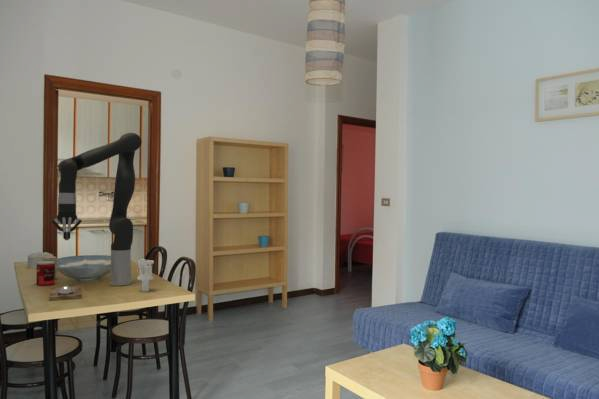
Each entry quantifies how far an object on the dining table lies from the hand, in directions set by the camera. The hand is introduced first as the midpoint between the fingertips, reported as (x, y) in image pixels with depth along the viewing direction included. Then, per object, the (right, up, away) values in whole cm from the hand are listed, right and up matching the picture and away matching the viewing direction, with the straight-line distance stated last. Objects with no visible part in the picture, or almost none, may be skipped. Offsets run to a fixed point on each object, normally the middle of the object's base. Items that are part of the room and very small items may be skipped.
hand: (66, 240), depth 213 cm
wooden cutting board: (+5, -23, -11) cm, 26 cm away
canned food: (-16, -23, +11) cm, 30 cm away
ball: (+7, -21, -15) cm, 27 cm away
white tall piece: (+36, -24, +1) cm, 43 cm away
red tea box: (-20, -23, +23) cm, 38 cm away
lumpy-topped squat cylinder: (-46, -22, +61) cm, 79 cm away
